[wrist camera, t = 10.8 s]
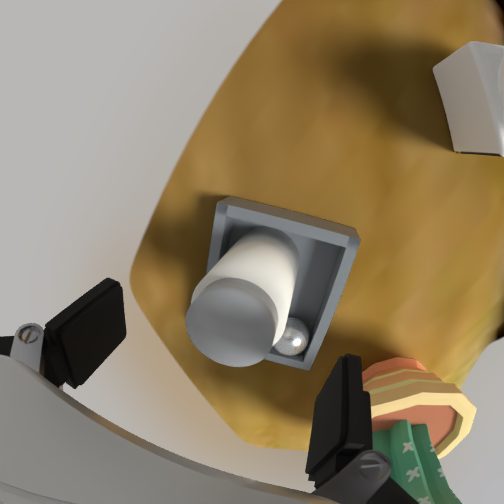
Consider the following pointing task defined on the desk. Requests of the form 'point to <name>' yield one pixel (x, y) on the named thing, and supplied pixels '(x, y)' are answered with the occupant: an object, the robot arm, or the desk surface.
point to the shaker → (245, 299)
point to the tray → (310, 263)
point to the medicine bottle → (474, 97)
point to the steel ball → (293, 338)
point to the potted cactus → (416, 425)
